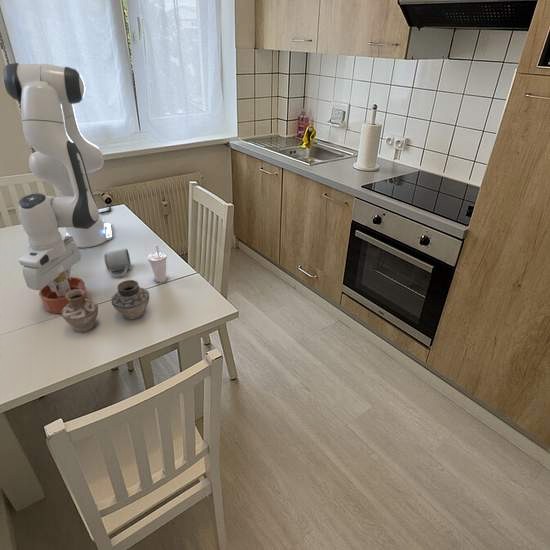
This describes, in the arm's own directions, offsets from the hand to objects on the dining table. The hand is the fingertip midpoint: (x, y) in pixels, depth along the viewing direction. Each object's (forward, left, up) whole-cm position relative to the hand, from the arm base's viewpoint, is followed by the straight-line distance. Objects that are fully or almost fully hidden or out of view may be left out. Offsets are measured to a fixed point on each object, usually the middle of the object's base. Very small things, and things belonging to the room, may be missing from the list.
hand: (61, 285), depth 126 cm
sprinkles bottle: (0, 0, -6) cm, 6 cm away
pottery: (+13, +16, -6) cm, 21 cm away
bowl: (0, 0, -6) cm, 6 cm away
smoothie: (-8, +30, -6) cm, 32 cm away
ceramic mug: (-17, +15, -6) cm, 24 cm away
